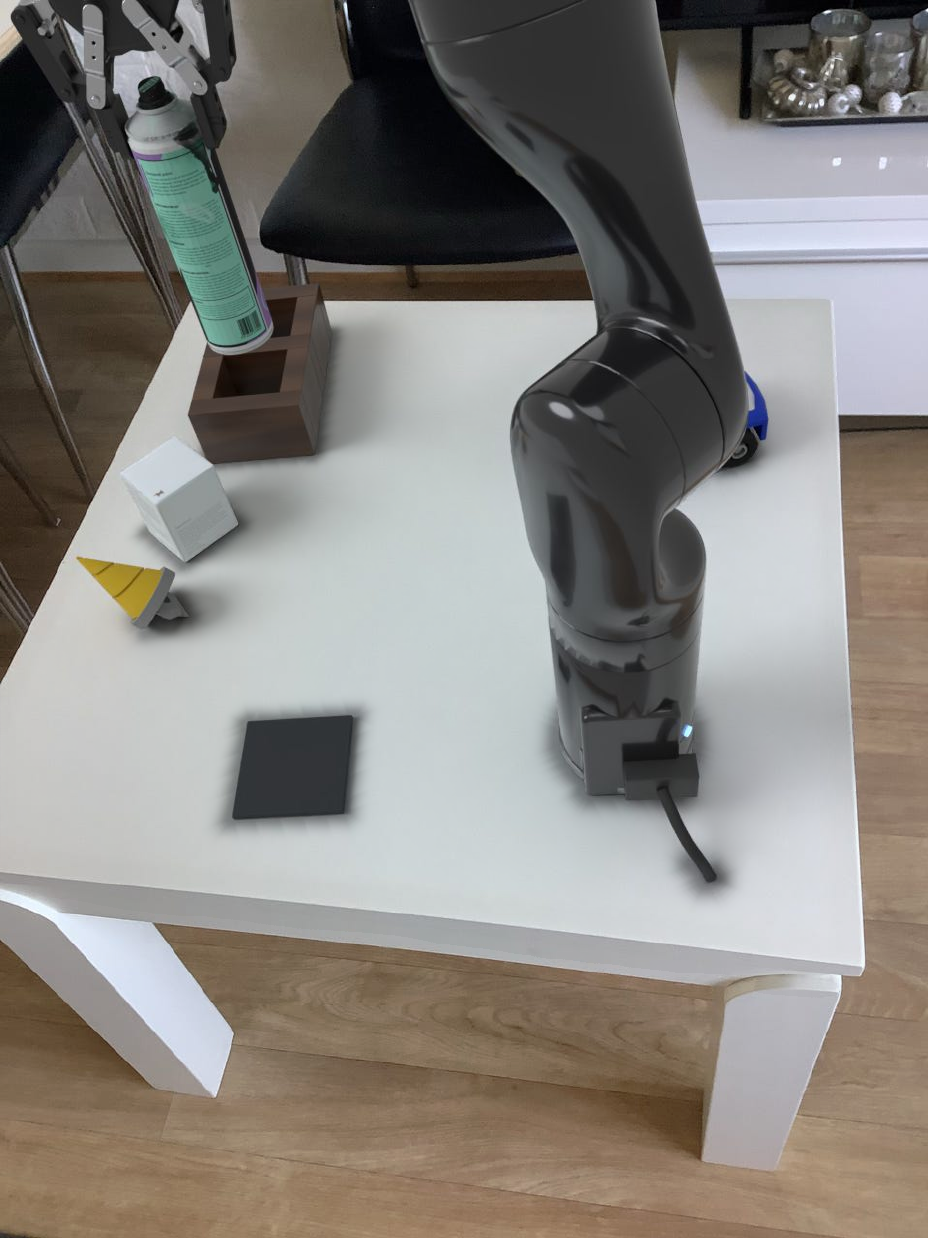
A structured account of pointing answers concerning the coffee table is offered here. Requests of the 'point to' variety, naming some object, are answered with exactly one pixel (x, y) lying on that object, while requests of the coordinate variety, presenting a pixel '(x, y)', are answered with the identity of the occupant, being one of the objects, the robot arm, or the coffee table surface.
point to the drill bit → (137, 589)
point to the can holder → (267, 385)
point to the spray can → (198, 220)
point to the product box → (180, 498)
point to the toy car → (755, 420)
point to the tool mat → (294, 767)
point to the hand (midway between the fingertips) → (173, 147)
